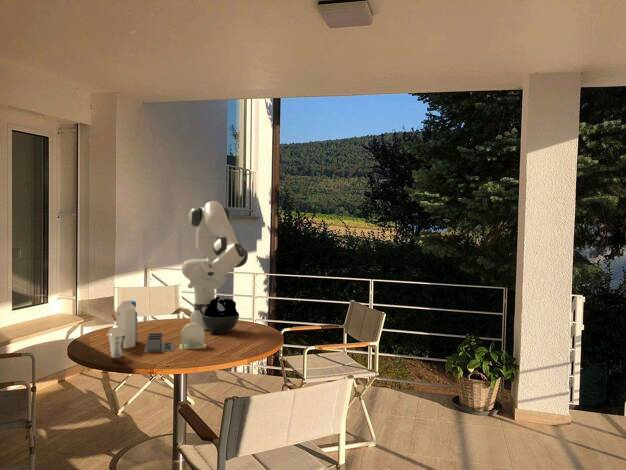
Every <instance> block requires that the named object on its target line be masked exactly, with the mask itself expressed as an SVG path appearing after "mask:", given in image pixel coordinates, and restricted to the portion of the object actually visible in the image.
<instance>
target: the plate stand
mask: <svg viewBox="0 0 626 470" xmlns="http://www.w3.org/2000/svg"><path fill="white" fill-rule="evenodd" d="M206 347H207V346H206V343H204V341H202V343H201V344H195V346H194V347H191V339H189V343H188V346H187V345H186V344H184V339H181V343H180V344H179V350H185V349H186V350H187V349H188V350H189V349H191V350H192V349H206Z"/></svg>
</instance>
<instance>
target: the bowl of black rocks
mask: <svg viewBox="0 0 626 470" xmlns="http://www.w3.org/2000/svg"><path fill="white" fill-rule="evenodd" d="M218 303H219V304H220V305H222V307H223V308H224V309H223V310H219V308H218ZM239 319H240V313H239V312H238V309H237V302H236V301H234V300H233V299H230V298H224V299H221V297H220V296H217V297H215V299H212V300H211V301H210V304H208V306H207V309H206V311H205V312H204V314H202V320H203V322H204V324H205V326H206V327H207V328H208V330H209V331H211V332H213V333H216V334H224V333H227V332H229V331H231V330H233V329H234V327H236V326H237V324H238V321H239Z"/></svg>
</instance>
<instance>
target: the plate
mask: <svg viewBox="0 0 626 470" xmlns="http://www.w3.org/2000/svg"><path fill="white" fill-rule="evenodd" d="M205 333H206V332H205V330H204V329H203V327H202V326H201V325H199V324H197V323H191V322H190V323H187V324H186V325H184V326H183V328H182V329H181V331H180V339H181V340H182V339H184V344H186V345H187V346H188V343H189V339H191V347H194V346H195V344H201V343H202V342H204V340H205V336H206V335H205Z"/></svg>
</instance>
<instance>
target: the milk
mask: <svg viewBox="0 0 626 470" xmlns="http://www.w3.org/2000/svg"><path fill="white" fill-rule="evenodd" d="M131 301H132V300H130V299H129V300H124V301H123V300H122V301H121V302H120V303H121V304H120V305H119V306H117V307H116V314H117V313H119V315H118V325H120V326H122V327H123V328H124V329H125V331H126V332H127V335H125V340H124V345H123V348H124V349H123V350H126V348H127V349H130V348H134V347H136V342H135V310H136V308H135V306H134V305H133V304H132V303H131Z"/></svg>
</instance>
